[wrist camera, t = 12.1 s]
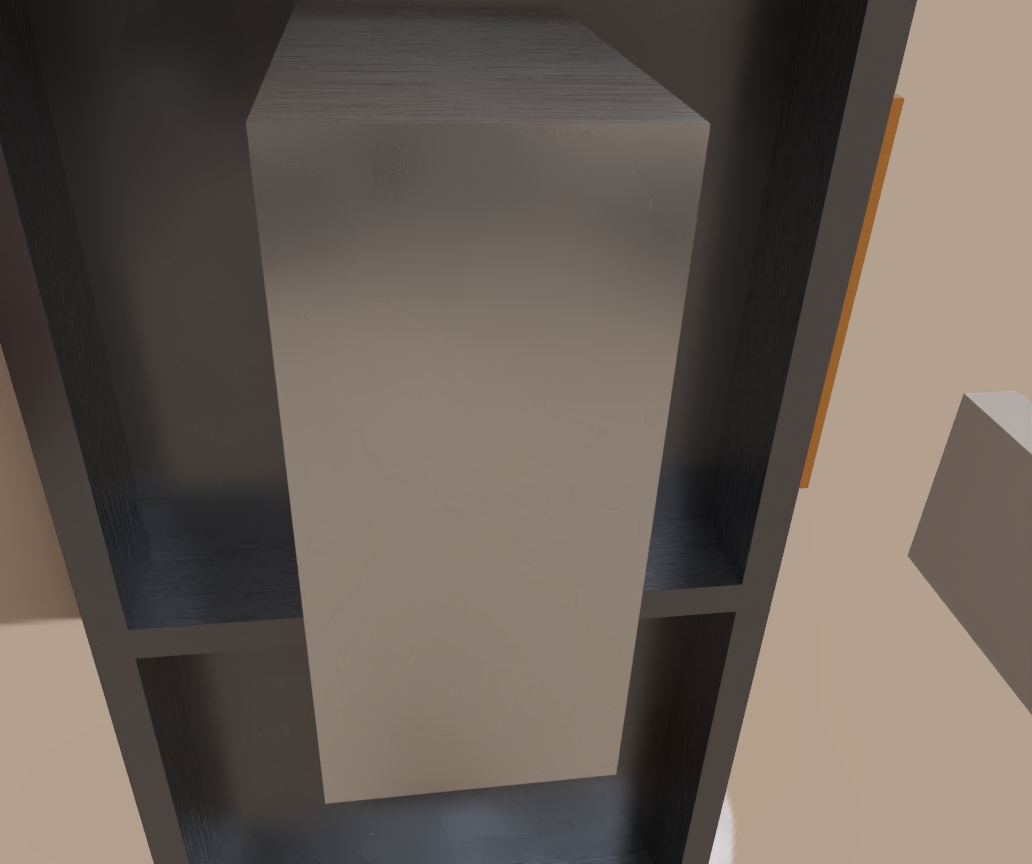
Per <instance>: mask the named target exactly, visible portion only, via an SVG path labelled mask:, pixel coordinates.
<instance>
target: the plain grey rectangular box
mask: <svg viewBox="0 0 1032 864" xmlns="http://www.w3.org/2000/svg"><path fill="white" fill-rule="evenodd" d="M246 128H247V137H248V146H249V154H250V163H251V171H252V180H253V188H254V197H255V206H256V214H257V223H258V231H259V240H260V248H261V257H262V266H263V274H264V283H265V291H266V300H267V308H268V317H269V325H270V334H271V343H272V351H273V360H274V368H275V377H276V385H277V394H278V403H279V411H280V420H281V428H282V437H283V445H284V454H285V463H286V471H287V480H288V488H289V497H290V505H291V514H292V523H293V531H294V540H295V548H296V557H297V565H298V574H299V583H300V591H301V600H302V608H303V617H304V625H305V634H306V643H307V651H308V660H309V668H310V677H311V685H312V694H313V702H314V711H315V720H316V728H317V737H318V745H319V754H320V762H321V771H322V780H323V788H324V797H325V804H327V803H337V802H347V801H357V800H367V799H377V798H387V797H397V796H407V795H417V794H427V793H437V792H447V791H457V790H467V789H477V788H487V787H497V786H507V785H516V784H526V783H536V782H546V781H556V780H566V779H576V778H586V777H596V776H606V775H616V772H617V765H618V758H619V751H620V745H621V738H622V731H623V724H624V717H625V710H626V703H627V696H628V689H629V682H630V676H631V669H632V662H633V655H634V648H635V641H636V634H637V627H638V620H639V614H640V607H641V600H642V593H643V586H644V579H645V572H646V565H647V558H648V552H649V545H650V538H651V531H652V524H653V517H654V510H655V503H656V496H657V489H658V483H659V476H660V469H661V462H662V455H663V448H664V441H665V434H666V427H667V421H668V414H669V407H670V400H671V393H672V386H673V379H674V372H675V365H676V358H677V352H678V345H679V338H680V331H681V324H682V317H683V310H684V303H685V296H686V290H687V283H688V276H689V269H690V262H691V255H692V248H693V241H694V234H695V228H696V221H697V214H698V207H699V200H700V193H701V186H702V179H703V172H704V165H705V159H706V152H707V145H708V138H709V131H710V123H709V122H708V121H707V120H705V119H704V118H703V117H701V116H700V115H699V114H698V113H696V112H695V111H694V110H692V109H691V108H690V107H689V106H687V105H686V104H685V103H683V102H682V101H681V100H679V99H678V98H677V97H676V96H674V95H673V94H672V93H670V92H669V91H668V90H667V89H665V88H664V87H663V86H661V85H660V84H659V83H657V82H656V81H655V80H654V79H652V78H651V77H650V76H648V75H647V74H646V73H645V72H643V71H642V70H641V69H639V68H638V67H637V66H635V65H634V64H633V63H632V62H630V61H629V60H628V59H626V58H625V57H624V56H623V55H621V54H620V53H619V52H617V51H616V50H615V49H614V48H612V47H611V46H610V45H608V44H607V43H606V42H604V41H603V40H602V39H601V38H599V37H598V36H597V35H595V34H594V33H593V32H592V31H590V30H589V29H588V28H586V27H585V26H584V25H582V24H581V23H580V22H579V21H577V20H576V19H575V18H573V17H572V16H571V15H570V14H568V13H567V12H566V11H564V10H563V9H548V8H498V7H447V6H396V5H346V4H295V6H294V9H293V11H292V14H291V16H290V18H289V21H288V23H287V25H286V28H285V30H284V33H283V35H282V37H281V40H280V42H279V45H278V47H277V49H276V52H275V54H274V57H273V59H272V61H271V64H270V66H269V68H268V71H267V73H266V76H265V78H264V80H263V83H262V85H261V88H260V90H259V92H258V95H257V97H256V100H255V102H254V104H253V107H252V109H251V112H250V114H249V116H248V119H247V121H246Z"/></svg>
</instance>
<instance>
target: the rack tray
mask: <svg viewBox="0 0 1032 864" xmlns="http://www.w3.org/2000/svg"><path fill="white" fill-rule="evenodd" d="M916 2H917V0H0V343H1V346H2V349H3V353H4V356H5V360H6V363H7V366H8V370H9V373H10V377H11V380H12V383H13V387H14V390H15V394H16V397H17V400H18V404H19V407H20V411H21V414H22V417H23V421H24V424H25V427H26V431H27V434H28V438H29V441H30V444H31V448H32V451H33V455H34V458H35V461H36V465H37V468H38V472H39V475H40V478H41V482H42V485H43V489H44V492H45V495H46V499H47V502H48V506H49V509H50V512H51V516H52V519H53V523H54V526H55V529H56V533H57V536H58V539H59V543H60V546H61V550H62V553H63V556H64V560H65V563H66V567H67V570H68V573H69V577H70V580H71V584H72V587H73V590H74V594H75V597H76V601H77V604H78V607H79V611H80V614H81V618H82V621H83V624H84V628H85V631H86V634H87V638H88V641H89V644H90V648H91V651H92V655H93V658H94V662H95V665H96V668H97V672H98V675H99V678H100V682H101V685H102V689H103V692H104V695H105V699H106V702H107V706H108V709H109V713H110V716H111V719H112V722H113V726H114V729H115V733H116V736H117V740H118V743H119V746H120V750H121V753H122V757H123V760H124V763H125V767H126V770H127V773H128V777H129V780H130V784H131V787H132V791H133V794H134V797H135V801H136V804H137V807H138V811H139V814H140V818H141V821H142V825H143V828H144V831H145V834H146V838H147V842H148V845H149V848H150V851H151V855H152V858H153V862H154V864H708V863H709V859H710V855H711V851H712V846H713V842H714V838H715V834H716V830H717V826H718V822H719V817H720V813H721V809H722V805H723V801H724V797H725V793H726V788H727V784H728V780H729V776H730V772H731V767H732V763H733V759H734V755H735V751H736V747H737V743H738V739H739V735H740V731H741V726H742V722H743V718H744V714H745V710H746V706H747V702H748V697H749V693H750V689H751V685H752V681H753V677H754V672H755V668H756V664H757V660H758V656H759V652H760V648H761V644H762V640H763V635H764V631H765V627H766V623H767V619H768V614H769V610H770V606H771V602H772V598H773V593H774V590H775V585H776V582H777V577H778V573H779V569H780V565H781V560H782V557H783V553H784V549H785V544H786V540H787V536H788V531H789V528H790V524H791V519H792V515H793V511H794V507H795V503H796V499H797V495H798V491H799V488H808V485H809V481H810V477H811V473H812V469H813V465H814V461H815V457H816V453H817V448H818V445H819V440H820V436H821V432H822V428H823V424H824V420H825V416H826V412H827V408H828V404H829V400H830V396H831V392H832V388H833V384H834V380H835V375H836V372H837V368H838V364H839V360H840V356H841V352H842V348H843V344H844V340H845V335H846V332H847V327H848V323H849V319H850V315H851V311H852V307H853V303H854V299H855V295H856V291H857V287H858V283H859V279H860V275H861V271H862V267H863V263H864V259H865V255H866V251H867V247H868V243H869V239H870V235H871V231H872V227H873V223H874V218H875V214H876V210H877V206H878V202H879V198H880V194H881V190H882V186H883V182H884V178H885V174H886V170H887V166H888V162H889V158H890V154H891V150H892V146H893V142H894V138H895V134H896V130H897V126H898V121H899V117H900V114H901V110H902V105H903V101H904V98H903V97H901V96H899V95H896V94H894V93H895V89H896V85H897V81H898V77H899V72H900V68H901V64H902V60H903V56H904V52H905V48H906V44H907V40H908V36H909V31H910V27H911V23H912V19H913V15H914V11H915V6H916ZM295 4H346V5H396V6H447V7H498V8H548V9H563V10H564V11H566V12H567V13H568V14H570V15H571V16H572V17H573V18H575V19H576V20H577V21H579V22H580V23H581V24H582V25H584V26H585V27H586V28H588V29H589V30H590V31H592V32H593V33H594V34H595V35H597V36H598V37H599V38H601V39H602V40H603V41H604V42H606V43H607V44H608V45H610V46H611V47H612V48H614V49H615V50H616V51H617V52H619V53H620V54H621V55H623V56H624V57H625V58H626V59H628V60H629V61H630V62H632V63H633V64H634V65H635V66H637V67H638V68H639V69H641V70H642V71H643V72H645V73H646V74H647V75H648V76H650V77H651V78H652V79H654V80H655V81H656V82H657V83H659V84H660V85H661V86H663V87H664V88H665V89H667V90H668V91H669V92H670V93H672V94H673V95H674V96H676V97H677V98H678V99H679V100H681V101H682V102H683V103H685V104H686V105H687V106H689V107H690V108H691V109H692V110H694V111H695V112H696V113H698V114H699V115H700V116H701V117H703V118H704V119H705V120H707V121H708V122H709V123H710V131H709V138H708V145H707V152H706V159H705V165H704V172H703V179H702V186H701V193H700V200H699V207H698V214H697V221H696V228H695V234H694V241H693V248H692V255H691V262H690V269H689V276H688V283H687V290H686V296H685V303H684V310H683V317H682V324H681V331H680V338H679V345H678V352H677V358H676V365H675V372H674V379H673V386H672V393H671V400H670V407H669V414H668V421H667V427H666V434H665V441H664V448H663V455H662V462H661V469H660V476H659V483H658V489H657V496H656V503H655V510H654V517H653V524H652V531H651V538H650V545H649V552H648V558H647V565H646V572H645V579H644V586H643V593H642V600H641V607H640V614H639V620H638V627H637V634H636V641H635V648H634V655H633V662H632V669H631V676H630V682H629V689H628V696H627V703H626V710H625V717H624V724H623V731H622V738H621V745H620V751H619V758H618V765H617V772H616V775H606V776H596V777H586V778H576V779H566V780H556V781H546V782H536V783H526V784H516V785H507V786H497V787H487V788H477V789H467V790H457V791H447V792H437V793H427V794H417V795H407V796H397V797H387V798H377V799H367V800H357V801H347V802H337V803H327V804H325V797H324V788H323V780H322V771H321V762H320V754H319V745H318V737H317V728H316V720H315V711H314V702H313V694H312V685H311V677H310V668H309V660H308V651H307V643H306V634H305V625H304V617H303V608H302V600H301V591H300V583H299V574H298V565H297V557H296V548H295V540H294V531H293V523H292V514H291V505H290V497H289V488H288V480H287V471H286V463H285V454H284V445H283V437H282V428H281V420H280V411H279V403H278V394H277V385H276V377H275V368H274V360H273V351H272V343H271V334H270V325H269V317H268V308H267V300H266V291H265V283H264V274H263V266H262V257H261V248H260V240H259V231H258V223H257V214H256V206H255V197H254V188H253V180H252V171H251V163H250V154H249V146H248V137H247V128H246V121H247V119H248V116H249V114H250V112H251V109H252V107H253V104H254V102H255V100H256V97H257V95H258V92H259V90H260V88H261V85H262V83H263V80H264V78H265V76H266V73H267V71H268V68H269V66H270V64H271V61H272V59H273V57H274V54H275V52H276V49H277V47H278V45H279V42H280V40H281V37H282V35H283V33H284V30H285V28H286V25H287V23H288V21H289V18H290V16H291V14H292V11H293V9H294V6H295Z"/></svg>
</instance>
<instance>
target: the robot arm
mask: <svg viewBox="0 0 1032 864" xmlns="http://www.w3.org/2000/svg"><path fill="white" fill-rule="evenodd" d="M908 557H909V558H910V559H911V560H912V562H913V563H914V565H915V566H916V567H917V568H918V570H919V571H920V572H921V573H922V575H923V576H924V577H925V579H926V580H927V581H928V582H929V584H930V585H931V586H932V588H933V589H934V590H935V591H936V593H937V594H938V595H939V597H940V598H941V599H942V600H943V602H944V603H945V604H946V605H947V607H948V608H949V609H950V611H951V612H952V613H953V614H954V616H955V617H956V618H957V619H958V621H959V622H960V623H961V624H962V626H963V627H964V628H965V630H966V631H967V632H968V634H969V635H970V636H971V637H972V639H973V640H974V641H975V643H976V644H977V645H978V646H979V648H980V649H981V650H982V652H983V653H984V654H985V655H986V657H987V658H988V659H989V660H990V662H991V663H992V664H993V666H994V667H995V668H996V669H997V671H998V672H999V673H1000V675H1001V676H1002V677H1003V678H1004V680H1005V681H1006V682H1007V683H1008V685H1009V686H1010V687H1011V689H1012V690H1013V691H1014V692H1015V694H1016V695H1017V696H1018V698H1019V699H1020V700H1021V701H1022V703H1023V704H1024V705H1025V707H1026V708H1027V709H1028V710H1029V712H1030V713H1031V714H1032V402H1030V401H1029V400H1028V399H1027V398H1026V397H1024V396H1023V395H1022V394H1021V393H1020V392H1018V391H999V392H980V393H964V395H963V398H962V400H961V403H960V406H959V409H958V412H957V415H956V418H955V421H954V423H953V427H952V430H951V432H950V435H949V438H948V441H947V444H946V447H945V450H944V453H943V455H942V458H941V461H940V464H939V467H938V470H937V473H936V476H935V478H934V481H933V485H932V487H931V490H930V493H929V496H928V499H927V502H926V505H925V507H924V510H923V514H922V516H921V519H920V522H919V525H918V528H917V531H916V534H915V536H914V539H913V542H912V545H911V548H910V551H909V554H908Z"/></svg>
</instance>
